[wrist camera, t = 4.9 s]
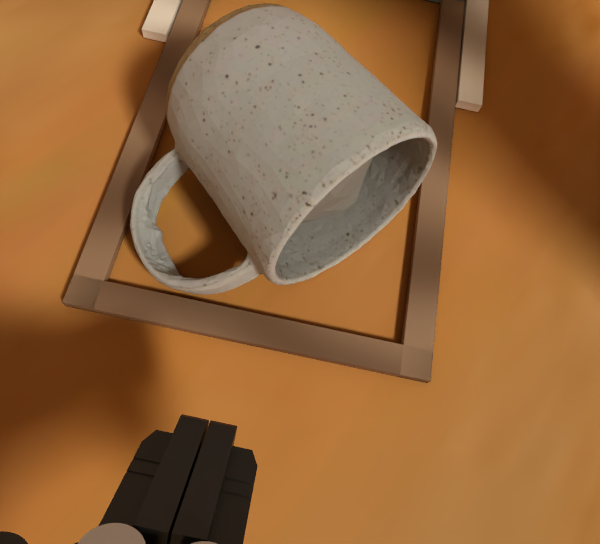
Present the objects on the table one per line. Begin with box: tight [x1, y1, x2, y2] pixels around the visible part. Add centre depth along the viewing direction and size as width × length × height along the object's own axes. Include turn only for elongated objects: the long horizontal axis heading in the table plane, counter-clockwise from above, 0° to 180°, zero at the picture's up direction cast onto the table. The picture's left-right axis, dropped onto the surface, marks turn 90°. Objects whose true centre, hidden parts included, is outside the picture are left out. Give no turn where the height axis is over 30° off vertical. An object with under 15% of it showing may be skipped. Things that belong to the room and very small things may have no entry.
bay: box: [62, 0, 489, 383], centre depth 23 cm, size 23×17×3 cm
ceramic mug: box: [130, 3, 437, 295], centre depth 19 cm, size 11×8×8 cm
